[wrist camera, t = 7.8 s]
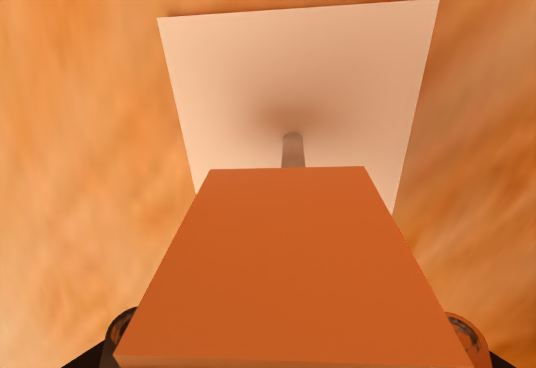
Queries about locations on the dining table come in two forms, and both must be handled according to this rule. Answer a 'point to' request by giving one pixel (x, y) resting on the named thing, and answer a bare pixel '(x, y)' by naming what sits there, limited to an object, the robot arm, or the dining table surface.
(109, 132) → the dining table surface
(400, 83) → the post board
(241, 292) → the orange block
